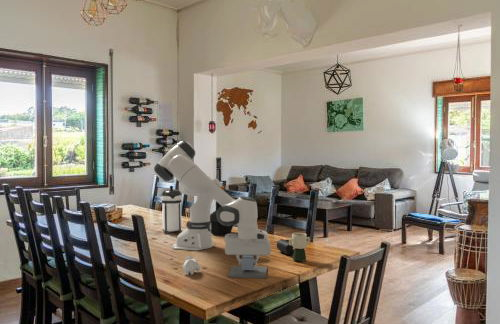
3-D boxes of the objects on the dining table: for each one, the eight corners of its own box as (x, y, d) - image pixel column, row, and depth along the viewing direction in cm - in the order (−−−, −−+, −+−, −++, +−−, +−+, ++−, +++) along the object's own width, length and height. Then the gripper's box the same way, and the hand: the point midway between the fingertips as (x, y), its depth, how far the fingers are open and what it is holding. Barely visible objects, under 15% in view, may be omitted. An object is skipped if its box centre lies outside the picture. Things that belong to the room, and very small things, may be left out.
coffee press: (189, 230, 274) (189, 185, 273) (172, 235, 261) (172, 187, 259) (170, 227, 283) (169, 183, 282) (152, 232, 270) (151, 186, 268)
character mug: (306, 257, 208) (306, 231, 207) (313, 261, 201) (312, 234, 200) (286, 259, 205) (286, 233, 204) (291, 263, 198) (291, 236, 197)
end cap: (276, 252, 219) (276, 239, 219) (288, 250, 222) (288, 237, 222) (286, 256, 210) (286, 243, 210) (298, 255, 213) (298, 241, 213)
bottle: (217, 237, 254) (216, 188, 252) (203, 233, 266) (202, 186, 265) (238, 233, 263) (238, 186, 262) (223, 229, 276) (222, 184, 275)
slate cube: (241, 269, 183) (241, 258, 182) (242, 266, 188) (242, 255, 187) (253, 270, 182) (253, 258, 182) (254, 266, 187) (253, 255, 187)
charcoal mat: (228, 277, 179) (228, 275, 179) (232, 267, 193) (232, 265, 193) (265, 278, 177) (265, 276, 177) (267, 268, 191) (267, 266, 191)
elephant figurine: (203, 275, 183) (203, 258, 182) (181, 276, 181) (180, 260, 180) (201, 269, 190) (201, 254, 190) (180, 271, 188) (179, 255, 188)
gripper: (223, 234, 182) (223, 266, 183) (270, 235, 180) (270, 267, 181) (225, 231, 188) (225, 262, 189) (270, 232, 186) (271, 263, 187)
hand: (247, 264), depth 185 cm, fingers closed on slate cube, 5 cm apart
